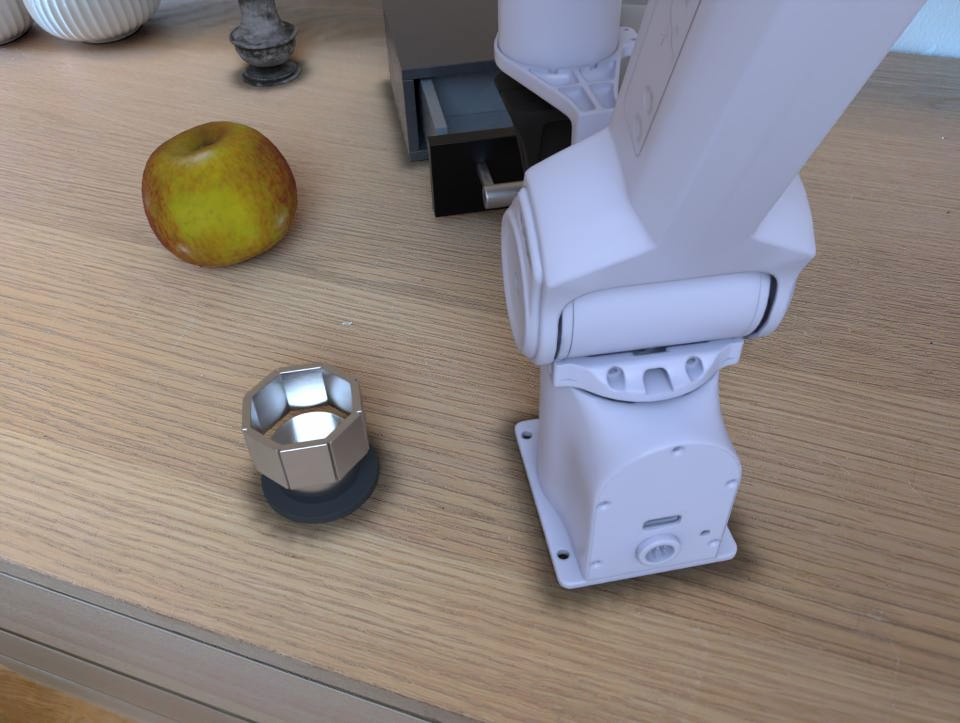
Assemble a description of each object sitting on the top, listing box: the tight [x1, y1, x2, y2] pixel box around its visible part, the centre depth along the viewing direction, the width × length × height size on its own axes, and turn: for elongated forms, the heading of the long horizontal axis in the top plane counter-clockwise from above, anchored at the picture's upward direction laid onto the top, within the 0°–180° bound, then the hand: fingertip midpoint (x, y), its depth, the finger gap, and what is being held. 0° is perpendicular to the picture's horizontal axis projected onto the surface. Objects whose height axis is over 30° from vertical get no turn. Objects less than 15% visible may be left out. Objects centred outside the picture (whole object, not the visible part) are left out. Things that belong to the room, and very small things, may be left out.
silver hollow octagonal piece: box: [241, 361, 370, 503], centre depth 38 cm, size 5×5×5 cm
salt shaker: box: [228, 0, 302, 87], centre depth 69 cm, size 6×6×12 cm
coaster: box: [260, 441, 380, 525], centre depth 39 cm, size 6×6×1 cm
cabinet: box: [381, 0, 501, 162], centre depth 64 cm, size 14×13×7 cm
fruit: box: [141, 120, 298, 268], centre depth 51 cm, size 10×9×8 cm
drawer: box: [417, 70, 524, 219], centre depth 56 cm, size 17×11×5 cm
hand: (551, 206), depth 45 cm, fingers closed
